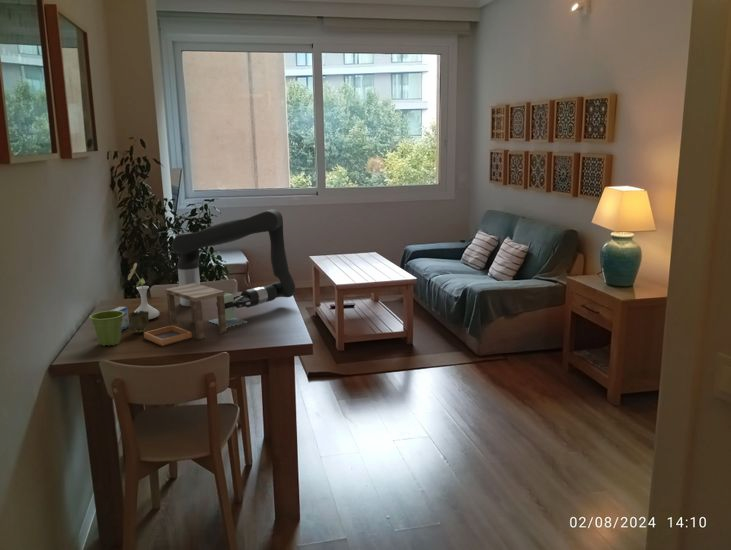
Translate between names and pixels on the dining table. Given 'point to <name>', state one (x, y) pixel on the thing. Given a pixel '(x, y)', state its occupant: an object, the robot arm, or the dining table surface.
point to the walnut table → (196, 304)
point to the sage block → (229, 311)
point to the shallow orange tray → (167, 335)
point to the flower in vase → (143, 297)
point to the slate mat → (229, 322)
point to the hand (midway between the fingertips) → (220, 305)
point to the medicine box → (125, 317)
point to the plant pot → (108, 326)
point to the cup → (139, 320)
